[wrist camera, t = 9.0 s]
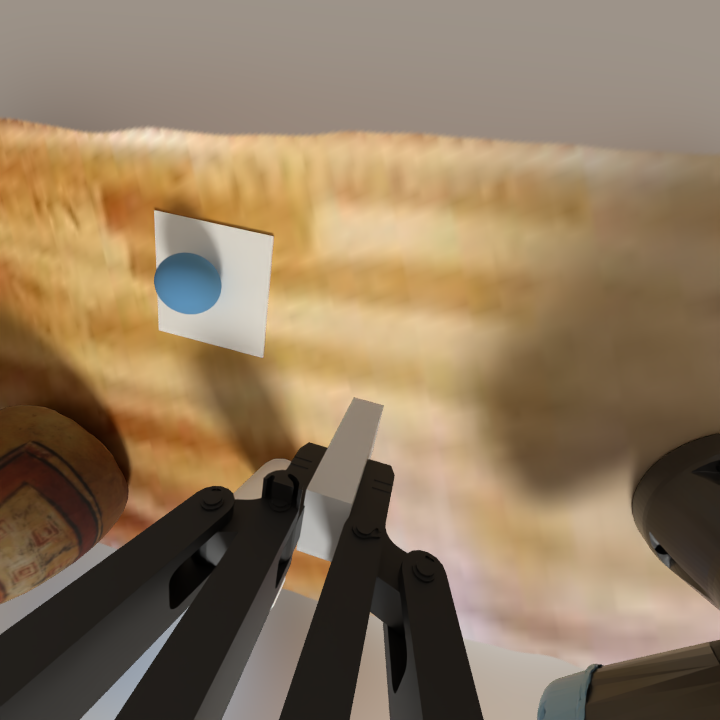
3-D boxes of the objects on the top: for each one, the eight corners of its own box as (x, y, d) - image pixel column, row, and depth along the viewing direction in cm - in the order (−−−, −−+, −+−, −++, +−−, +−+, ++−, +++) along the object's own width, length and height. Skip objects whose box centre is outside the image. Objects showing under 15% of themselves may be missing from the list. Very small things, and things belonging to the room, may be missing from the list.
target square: (274, 236, 32) (273, 236, 31) (263, 357, 36) (262, 358, 36) (155, 210, 33) (154, 210, 33) (160, 329, 38) (158, 330, 38)
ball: (188, 261, 28) (139, 244, 29) (185, 327, 30) (139, 307, 31) (237, 261, 33) (192, 246, 34) (231, 317, 35) (189, 300, 36)
